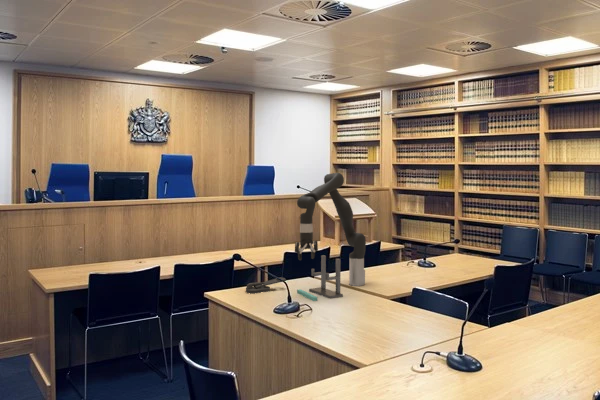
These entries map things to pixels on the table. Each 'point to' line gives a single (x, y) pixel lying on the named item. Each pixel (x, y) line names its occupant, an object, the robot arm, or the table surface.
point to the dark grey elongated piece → (261, 286)
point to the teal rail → (307, 295)
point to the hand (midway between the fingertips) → (306, 259)
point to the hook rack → (325, 276)
